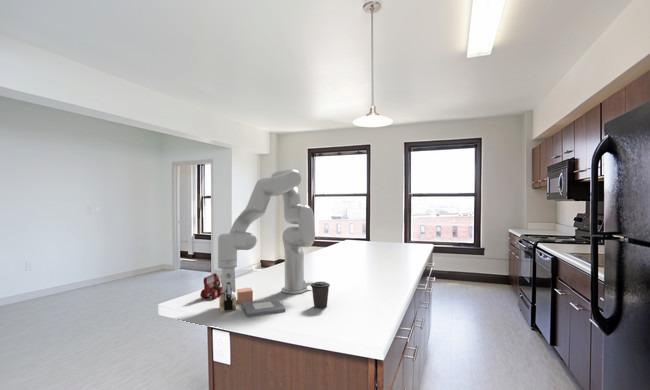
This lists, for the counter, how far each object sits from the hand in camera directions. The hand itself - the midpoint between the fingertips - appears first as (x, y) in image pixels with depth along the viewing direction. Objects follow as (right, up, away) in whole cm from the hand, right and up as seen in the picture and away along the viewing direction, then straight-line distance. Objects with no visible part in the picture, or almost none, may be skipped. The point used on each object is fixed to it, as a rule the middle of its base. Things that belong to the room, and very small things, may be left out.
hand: (227, 307), depth 130 cm
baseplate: (+15, 0, 0) cm, 15 cm away
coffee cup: (+38, -1, +1) cm, 38 cm away
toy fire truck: (-12, -2, +18) cm, 22 cm away
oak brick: (0, -1, 0) cm, 1 cm away
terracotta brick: (+4, -1, +10) cm, 11 cm away
